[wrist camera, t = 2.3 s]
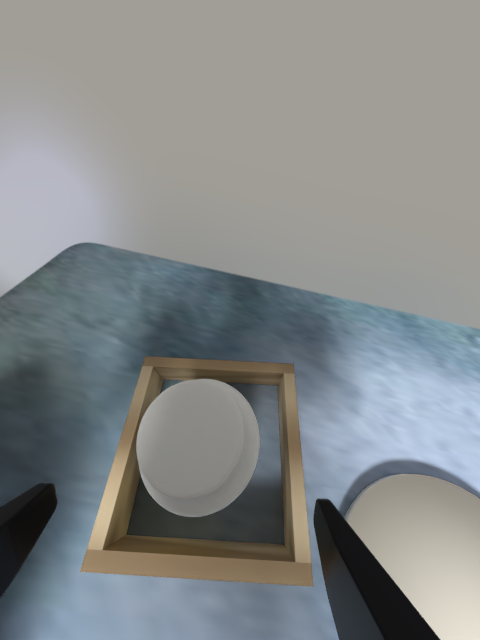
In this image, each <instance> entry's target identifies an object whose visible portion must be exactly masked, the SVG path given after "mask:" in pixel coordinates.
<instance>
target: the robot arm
mask: <svg viewBox="0 0 480 640" xmlns="http://www.w3.org/2000/svg"><path fill="white" fill-rule="evenodd" d="M56 506H57V496H56V490H55V485H54V484H53V483H40V484H38V485H36V486H34V487H33V488H31V489H29V490H28V491H26V492H25V493H23V494H21V495H20V496H18V497H17V498H15V499H13V500H12V501H10V502H9V503H7V504H5V505H4V506H2V507H1V508H0V598H1V597H2V596H3V594H4V593H5V591H6V590H7V588H8V587H9V585H10V584H11V582H12V581H13V579H14V578H15V576H16V575H17V573H18V572H19V570H20V568H21V567H22V565H23V563H24V562H25V560H26V558H27V557H28V555H29V553H30V552H31V550H32V548H33V547H34V545H35V543H36V541H37V540H38V538H39V536H40V535H41V533H42V531H43V530H44V528H45V526H46V525H47V523H48V521H49V519H50V518H51V516H52V514H53V513H54V511H55V509H56ZM314 528H315V533H316V539H317V544H318V549H319V555H320V560H321V565H322V570H323V576H324V581H325V586H326V591H327V595H328V599H329V603H330V607H331V610H332V614H333V618H334V621H335V625H336V629H337V633H338V636H339V640H440V638H439V637H438V636H437V635H436V633H435V632H434V631H433V630H432V628H431V627H430V626H429V624H428V623H427V622H426V621H425V619H424V618H423V617H422V616H421V614H420V613H419V612H418V611H417V609H416V608H415V607H414V606H413V604H412V603H411V602H410V601H409V599H408V598H407V597H406V596H405V594H404V593H403V592H402V590H401V589H400V588H399V587H398V585H397V584H396V583H395V582H394V580H393V579H392V578H391V577H390V575H389V574H388V573H387V572H386V570H385V569H384V568H383V567H382V565H381V564H380V563H379V561H378V560H377V559H376V558H375V556H374V555H373V554H372V553H371V551H370V550H369V549H368V548H367V546H366V545H365V544H364V543H363V541H362V540H361V539H360V538H359V536H358V535H357V534H356V533H355V531H354V530H353V529H352V527H351V526H350V525H349V524H348V522H347V521H346V520H345V519H344V517H343V516H342V515H341V514H340V512H339V511H338V510H337V509H336V507H335V506H334V505H333V504H332V502H331V501H330V500H328V499H317V500H316V504H315V511H314Z"/></svg>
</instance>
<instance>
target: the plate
mask: <svg viewBox="0 0 480 640" xmlns="http://www.w3.org/2000/svg"><path fill="white" fill-rule="evenodd" d="M344 519H345V520H346V521H347V522H348V524H349V525H350V526H351V527H352V529H353V530H354V531H355V533H356V534H357V535H358V536H359V538H360V539H361V540H362V541H363V543H364V544H365V545H366V546H367V548H368V549H369V550H370V551H371V553H372V554H373V555H374V556H375V558H376V559H377V560H378V561H379V563H380V564H381V565H382V567H383V568H384V569H385V570H386V572H387V573H388V574H389V575H390V577H391V578H392V579H393V580H394V582H395V583H396V584H397V585H398V587H399V588H400V589H401V590H402V592H403V593H404V594H405V596H406V597H407V598H408V599H409V601H410V602H411V603H412V604H413V606H414V607H415V608H416V609H417V611H418V612H419V613H420V614H421V616H422V617H423V618H424V619H425V621H426V622H427V623H428V624H429V626H430V627H431V628H432V630H433V631H434V632H435V633H436V635H437V636H438V637H439V638H440V640H480V499H479V498H478V497H477V496H475V495H474V494H472V493H470V492H468V491H467V490H465V489H463V488H461V487H459V486H457V485H455V484H452V483H450V482H448V481H446V480H442V479H439V478H436V477H432V476H426V475H420V474H396V475H389V476H386V477H383V478H381V479H378V480H376V481H375V482H373V483H371V484H369V485H368V486H367V487H366V488H365V489H363V490H362V491H361V492H360V493H359V494H358V496H357V497H356V498H355V499H354V501H353V502H352V504H351V505H350V507H349V509H348V511H347V512H346V514H345V517H344Z"/></svg>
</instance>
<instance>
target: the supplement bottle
mask: <svg viewBox="0 0 480 640" xmlns="http://www.w3.org/2000/svg"><path fill="white" fill-rule="evenodd" d="M259 451H260V432H259V427H258V423H257V419H256V416H255V414H254V412H253V409H252V408H251V406H250V404H249V403H248V401H247V400H246V399H245V397H244V396H243V395H242V394H241V393H240V392H239V391H237V390H236V389H235V388H233V387H232V386H230V385H228V384H226V383H224V382H221V381H218V380H213V379H197V380H187V381H184V382H180V383H177V384H175V385H173V386H171V387H169V388H168V389H166V390H165V391H163V392H162V393H161V394H160V395H159V396H157V397H156V399H155V400H154V401H153V402H152V403H151V404H150V406H149V407H148V409H147V410H146V412H145V414H144V416H143V418H142V420H141V423H140V426H139V430H138V434H137V441H136V452H137V459H138V464H139V470H140V474H141V477H142V480H143V483H144V485H145V487H146V489H147V491H148V492H149V494H150V495H151V496H152V498H153V499H154V500H155V501H156V502H157V503H158V504H159V505H160V506H162V507H163V508H164V509H166V510H168V511H169V512H172V513H174V514H177V515H180V516H185V517H202V516H206V515H210V514H213V513H215V512H218V511H220V510H222V509H223V508H225V507H227V506H228V505H229V504H231V503H232V502H233V501H234V500H235V499H236V498H237V497H238V496H239V495H240V494H241V493H242V492H243V490H244V489H245V488H246V486H247V485H248V483H249V481H250V479H251V478H252V475H253V473H254V471H255V468H256V465H257V461H258V457H259Z"/></svg>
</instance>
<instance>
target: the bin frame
mask: <svg viewBox="0 0 480 640" xmlns="http://www.w3.org/2000/svg"><path fill="white" fill-rule="evenodd" d="M163 379H169V380H197V379H213V380H218V381H221V382H226V383H245V384H264V385H278V405H279V427H280V449H281V471H282V494H283V516H284V538H285V545H284V544H268V543H252V542H235V541H219V540H203V539H186V538H170V537H153V536H137V535H126V534H127V529H128V525H129V521H130V517H131V513H132V509H133V504H134V500H135V496H136V492H137V488H138V484H139V479H140V475H141V474H140V470H139V464H138V459H137V452H136V441H137V434H138V430H139V426H140V423H141V420H142V418H143V416H144V414H145V412H146V410H147V409H148V407H149V406H150V404H151V403H152V402H153V401H154V400H155V399H156V397H157V396H159V395H160V392H161V388H162V384H163ZM80 572H92V573H108V574H124V575H139V576H155V577H171V578H187V579H203V580H218V581H234V582H250V583H266V584H281V585H297V586H313V576H312V565H311V554H310V543H309V532H308V520H307V509H306V498H305V487H304V476H303V464H302V453H301V442H300V431H299V419H298V408H297V397H296V386H295V375H294V364H285V363H266V362H246V361H227V360H207V359H188V358H168V357H148V356H145V359H144V362H143V366H142V369H141V372H140V376H139V379H138V382H137V386H136V389H135V392H134V396H133V399H132V402H131V405H130V409H129V412H128V415H127V419H126V422H125V425H124V429H123V432H122V435H121V438H120V442H119V445H118V448H117V452H116V455H115V458H114V462H113V465H112V468H111V471H110V475H109V478H108V481H107V485H106V488H105V491H104V495H103V498H102V501H101V504H100V508H99V511H98V514H97V518H96V521H95V524H94V528H93V531H92V534H91V537H90V541H89V544H88V547H87V551H86V554H85V557H84V561H83V564H82V567H81V571H80Z"/></svg>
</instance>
